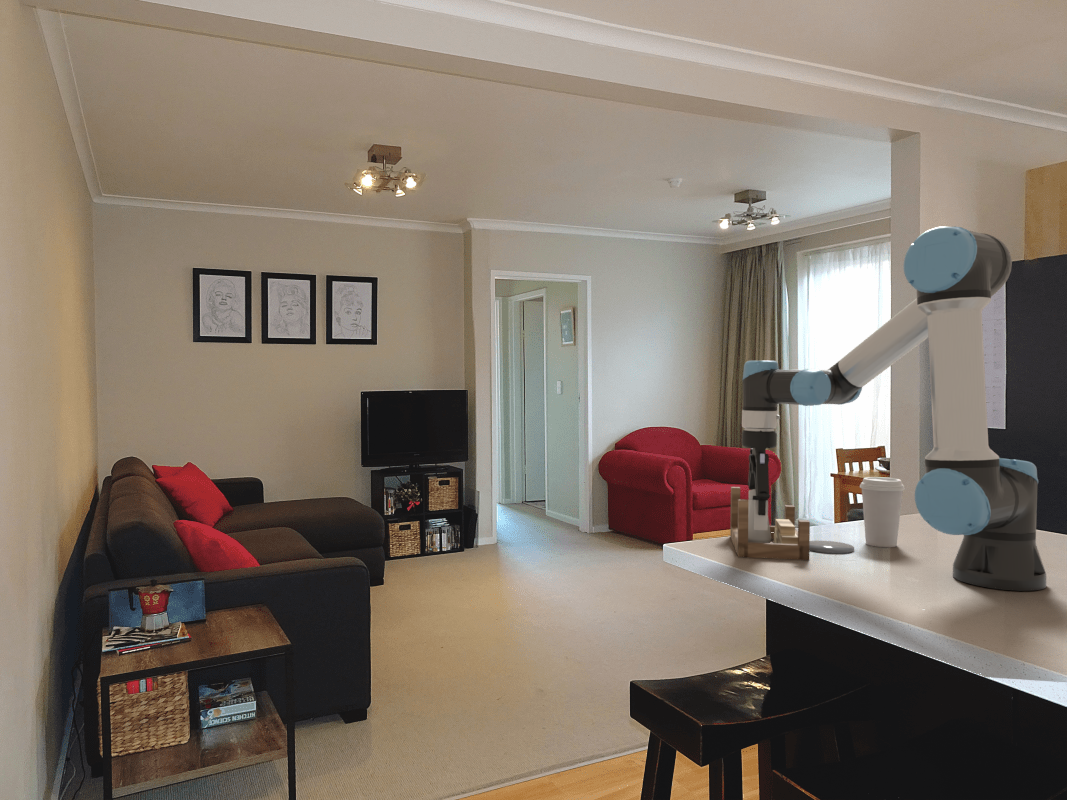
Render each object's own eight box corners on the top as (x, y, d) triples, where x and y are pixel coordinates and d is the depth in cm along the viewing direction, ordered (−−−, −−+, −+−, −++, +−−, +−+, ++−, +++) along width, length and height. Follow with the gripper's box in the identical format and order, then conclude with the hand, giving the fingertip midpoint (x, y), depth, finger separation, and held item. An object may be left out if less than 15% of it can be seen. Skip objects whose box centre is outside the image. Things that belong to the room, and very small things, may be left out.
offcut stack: (798, 555, 168) (798, 529, 168) (782, 554, 168) (782, 528, 168) (788, 542, 181) (789, 518, 181) (773, 541, 182) (774, 517, 182)
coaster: (859, 554, 169) (859, 551, 169) (806, 552, 171) (806, 549, 171) (848, 544, 180) (848, 541, 180) (798, 542, 182) (798, 539, 182)
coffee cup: (911, 549, 175) (913, 482, 175) (868, 548, 175) (869, 481, 175) (893, 540, 185) (894, 476, 184) (852, 539, 185) (853, 476, 184)
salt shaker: (741, 548, 175) (742, 490, 174) (747, 543, 180) (748, 487, 179) (768, 551, 172) (769, 492, 172) (773, 546, 177) (774, 488, 177)
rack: (809, 560, 164) (810, 502, 163) (738, 557, 166) (738, 500, 166) (793, 539, 185) (793, 488, 185) (730, 536, 188) (730, 486, 187)
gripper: (784, 434, 162) (782, 535, 163) (769, 426, 187) (768, 514, 188) (747, 433, 164) (745, 534, 164) (737, 425, 188) (735, 513, 189)
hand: (757, 524), depth 176 cm, fingers open, 13 cm apart
